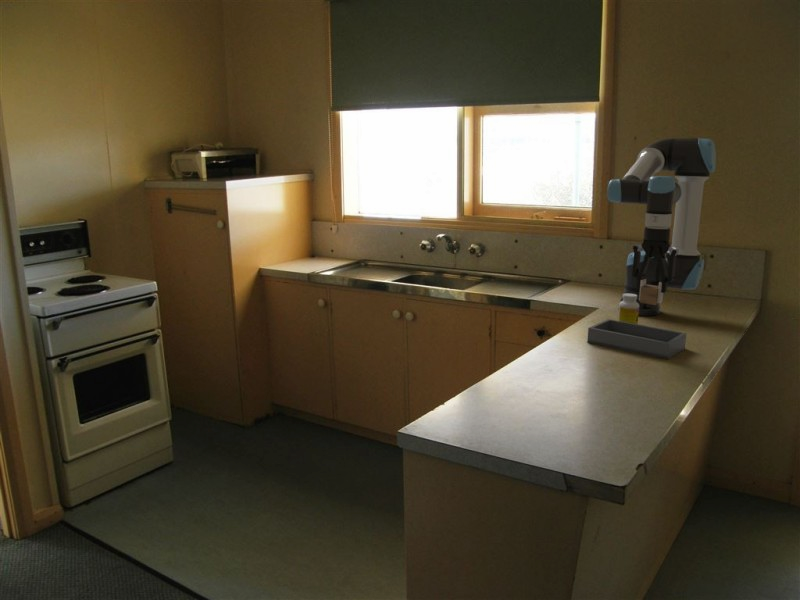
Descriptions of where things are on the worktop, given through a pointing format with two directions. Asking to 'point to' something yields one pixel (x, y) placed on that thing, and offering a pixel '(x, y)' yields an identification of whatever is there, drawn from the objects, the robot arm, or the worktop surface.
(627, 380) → the worktop surface
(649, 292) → the walnut cube
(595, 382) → the worktop surface
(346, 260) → the worktop surface
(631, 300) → the supplement bottle
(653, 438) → the worktop surface
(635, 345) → the tray
